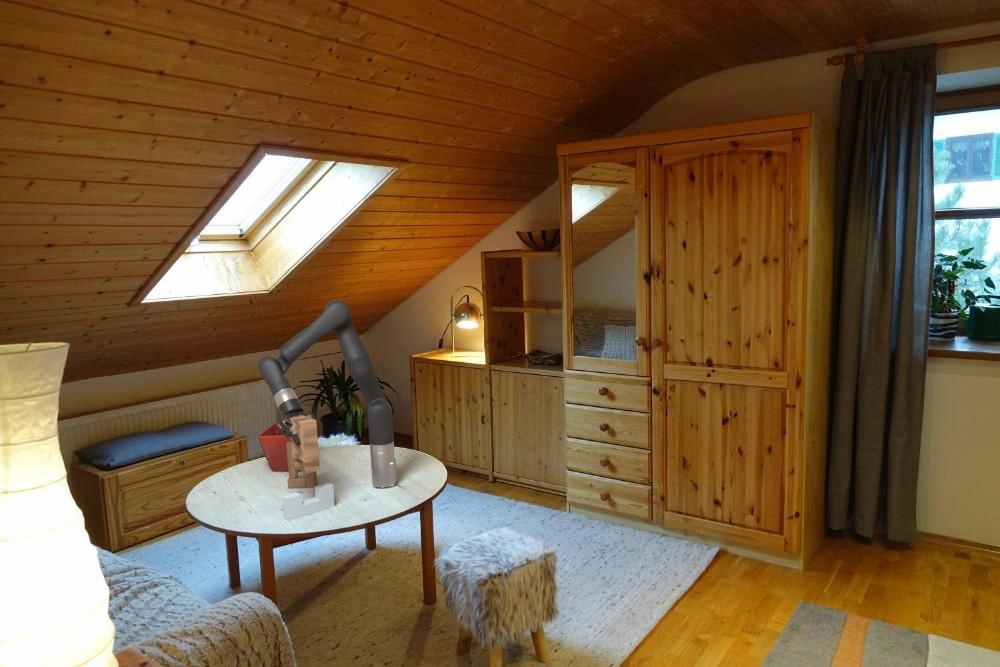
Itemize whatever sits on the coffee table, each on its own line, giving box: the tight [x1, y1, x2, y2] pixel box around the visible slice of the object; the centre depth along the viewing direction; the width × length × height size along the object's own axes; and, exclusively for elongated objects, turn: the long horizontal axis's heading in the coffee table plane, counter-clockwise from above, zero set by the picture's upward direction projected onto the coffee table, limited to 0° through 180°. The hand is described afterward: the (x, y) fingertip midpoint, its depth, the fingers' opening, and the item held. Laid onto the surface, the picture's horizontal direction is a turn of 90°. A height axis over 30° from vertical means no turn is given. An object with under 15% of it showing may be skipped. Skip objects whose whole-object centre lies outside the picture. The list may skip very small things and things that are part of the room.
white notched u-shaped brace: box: [281, 482, 336, 522], centre depth 254 cm, size 18×4×8 cm, turn 133°
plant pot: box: [258, 422, 318, 473], centre depth 303 cm, size 19×19×17 cm
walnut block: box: [290, 415, 321, 474], centre depth 251 cm, size 10×5×18 cm, turn 43°
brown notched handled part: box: [286, 441, 318, 489], centre depth 279 cm, size 4×11×18 cm, turn 87°
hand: (306, 442), depth 249 cm, fingers closed on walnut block, 5 cm apart
